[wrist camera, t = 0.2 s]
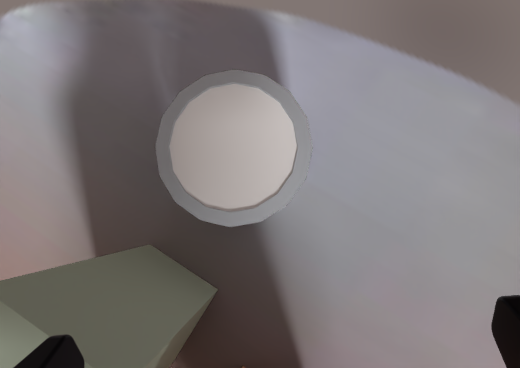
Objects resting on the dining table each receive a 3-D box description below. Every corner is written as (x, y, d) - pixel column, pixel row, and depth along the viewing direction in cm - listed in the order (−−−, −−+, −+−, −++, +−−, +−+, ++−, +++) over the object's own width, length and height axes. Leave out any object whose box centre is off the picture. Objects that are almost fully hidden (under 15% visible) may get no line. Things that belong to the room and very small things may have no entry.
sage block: (218, 289, 23) (123, 389, 10) (173, 360, 23) (23, 550, 10) (150, 244, 24) (-21, 286, 11) (106, 314, 24) (-117, 438, 11)
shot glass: (172, 163, 24) (122, 145, 17) (252, 86, 24) (235, 35, 17) (248, 245, 23) (228, 261, 16) (331, 166, 23) (347, 147, 16)
